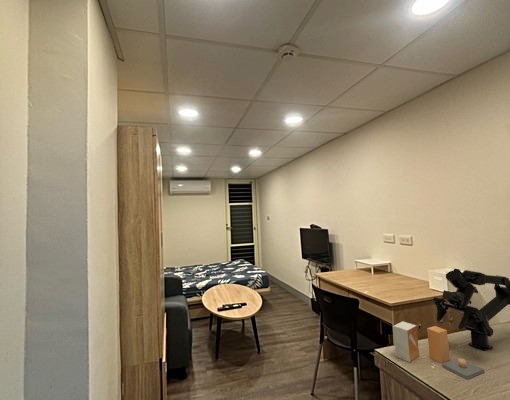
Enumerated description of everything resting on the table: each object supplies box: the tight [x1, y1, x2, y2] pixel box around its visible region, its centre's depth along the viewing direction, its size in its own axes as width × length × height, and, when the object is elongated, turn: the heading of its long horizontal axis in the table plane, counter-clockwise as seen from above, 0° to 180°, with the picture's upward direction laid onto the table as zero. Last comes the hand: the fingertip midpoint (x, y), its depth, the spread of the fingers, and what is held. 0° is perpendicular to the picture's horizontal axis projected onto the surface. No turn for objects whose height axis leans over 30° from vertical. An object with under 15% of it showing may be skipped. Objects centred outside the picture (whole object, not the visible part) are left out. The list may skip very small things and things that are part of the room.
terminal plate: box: [441, 357, 485, 380], centre depth 103 cm, size 10×9×4 cm
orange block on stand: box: [426, 325, 451, 364], centre depth 112 cm, size 5×5×12 cm
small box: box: [392, 320, 420, 363], centre depth 115 cm, size 8×6×13 cm
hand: (448, 324), depth 114 cm, fingers open, 9 cm apart
